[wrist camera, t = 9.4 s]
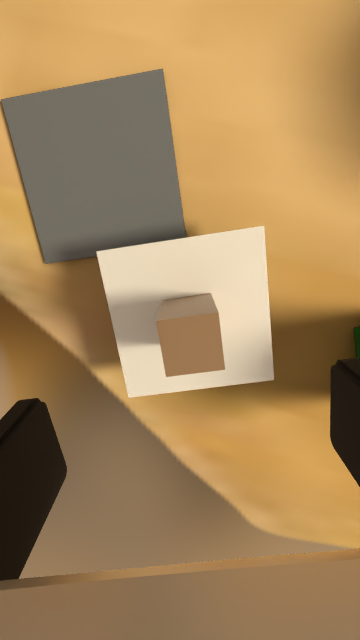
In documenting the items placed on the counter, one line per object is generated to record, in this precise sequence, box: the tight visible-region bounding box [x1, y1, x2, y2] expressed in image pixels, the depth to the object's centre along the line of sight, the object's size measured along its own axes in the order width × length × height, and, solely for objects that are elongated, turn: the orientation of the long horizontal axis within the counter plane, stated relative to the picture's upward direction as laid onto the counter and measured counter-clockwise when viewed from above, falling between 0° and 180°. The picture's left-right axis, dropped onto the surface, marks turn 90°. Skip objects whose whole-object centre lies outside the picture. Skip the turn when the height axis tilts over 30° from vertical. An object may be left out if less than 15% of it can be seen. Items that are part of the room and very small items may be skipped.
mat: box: [1, 69, 186, 264], centre depth 25 cm, size 13×13×1 cm
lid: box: [96, 226, 274, 398], centre depth 20 cm, size 12×12×6 cm
